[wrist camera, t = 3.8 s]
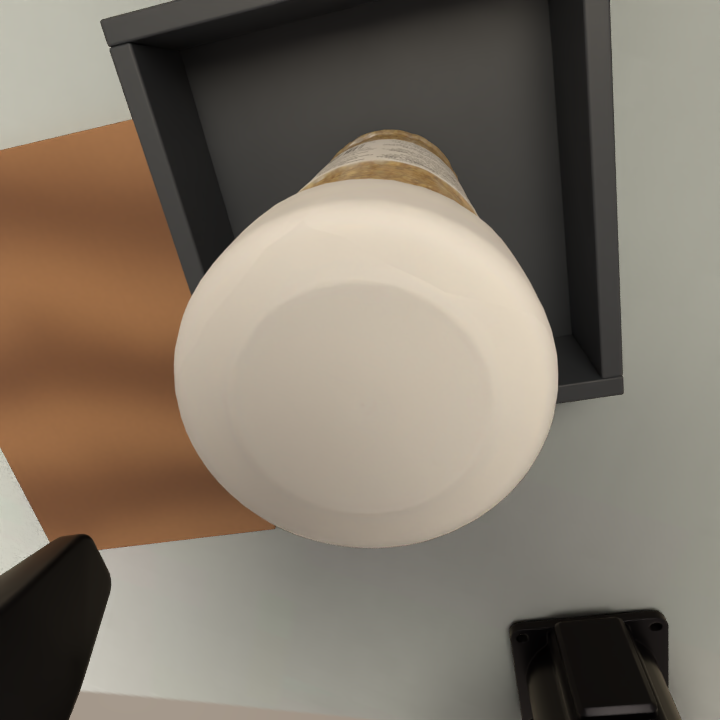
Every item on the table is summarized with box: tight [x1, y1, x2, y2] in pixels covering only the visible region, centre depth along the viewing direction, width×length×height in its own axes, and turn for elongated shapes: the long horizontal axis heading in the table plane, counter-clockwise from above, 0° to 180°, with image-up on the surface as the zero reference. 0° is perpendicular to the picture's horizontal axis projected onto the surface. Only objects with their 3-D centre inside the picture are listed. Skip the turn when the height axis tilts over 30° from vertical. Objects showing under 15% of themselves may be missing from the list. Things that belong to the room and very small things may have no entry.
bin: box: [100, 0, 624, 404], centre depth 17 cm, size 12×12×4 cm
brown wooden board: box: [0, 119, 276, 550], centre depth 22 cm, size 16×10×1 cm, turn 12°
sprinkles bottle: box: [174, 130, 558, 548], centre depth 13 cm, size 5×5×13 cm
